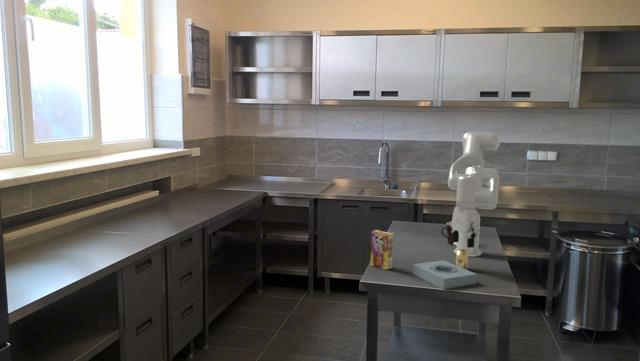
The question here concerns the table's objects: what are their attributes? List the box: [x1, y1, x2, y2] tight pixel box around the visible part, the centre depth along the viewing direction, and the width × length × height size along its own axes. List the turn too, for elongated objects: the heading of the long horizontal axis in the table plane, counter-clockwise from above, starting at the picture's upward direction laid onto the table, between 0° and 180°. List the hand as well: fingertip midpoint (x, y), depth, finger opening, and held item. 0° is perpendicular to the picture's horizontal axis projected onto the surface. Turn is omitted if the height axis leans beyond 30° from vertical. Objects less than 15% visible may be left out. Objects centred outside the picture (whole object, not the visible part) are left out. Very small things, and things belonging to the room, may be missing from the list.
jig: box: [412, 259, 478, 290], centre depth 213 cm, size 20×16×4 cm
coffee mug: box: [440, 222, 455, 246], centre depth 269 cm, size 12×9×10 cm
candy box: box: [370, 229, 395, 270], centre depth 226 cm, size 9×4×15 cm, turn 47°
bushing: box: [455, 249, 469, 270], centre depth 226 cm, size 5×5×8 cm
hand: (462, 244), depth 225 cm, fingers open, 9 cm apart
